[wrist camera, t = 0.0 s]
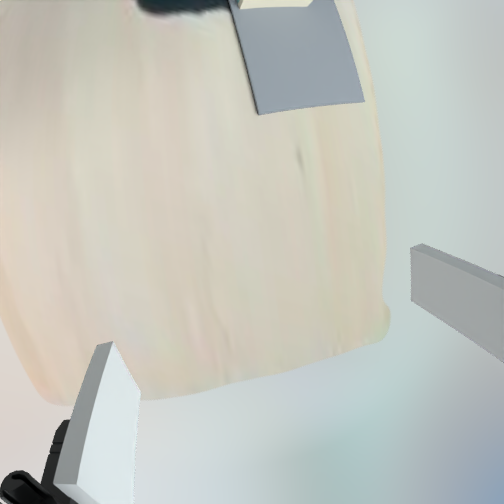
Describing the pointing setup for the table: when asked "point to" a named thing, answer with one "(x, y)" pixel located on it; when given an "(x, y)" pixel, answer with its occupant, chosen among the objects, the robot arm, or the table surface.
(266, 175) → the table surface
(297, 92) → the mat
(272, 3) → the board
